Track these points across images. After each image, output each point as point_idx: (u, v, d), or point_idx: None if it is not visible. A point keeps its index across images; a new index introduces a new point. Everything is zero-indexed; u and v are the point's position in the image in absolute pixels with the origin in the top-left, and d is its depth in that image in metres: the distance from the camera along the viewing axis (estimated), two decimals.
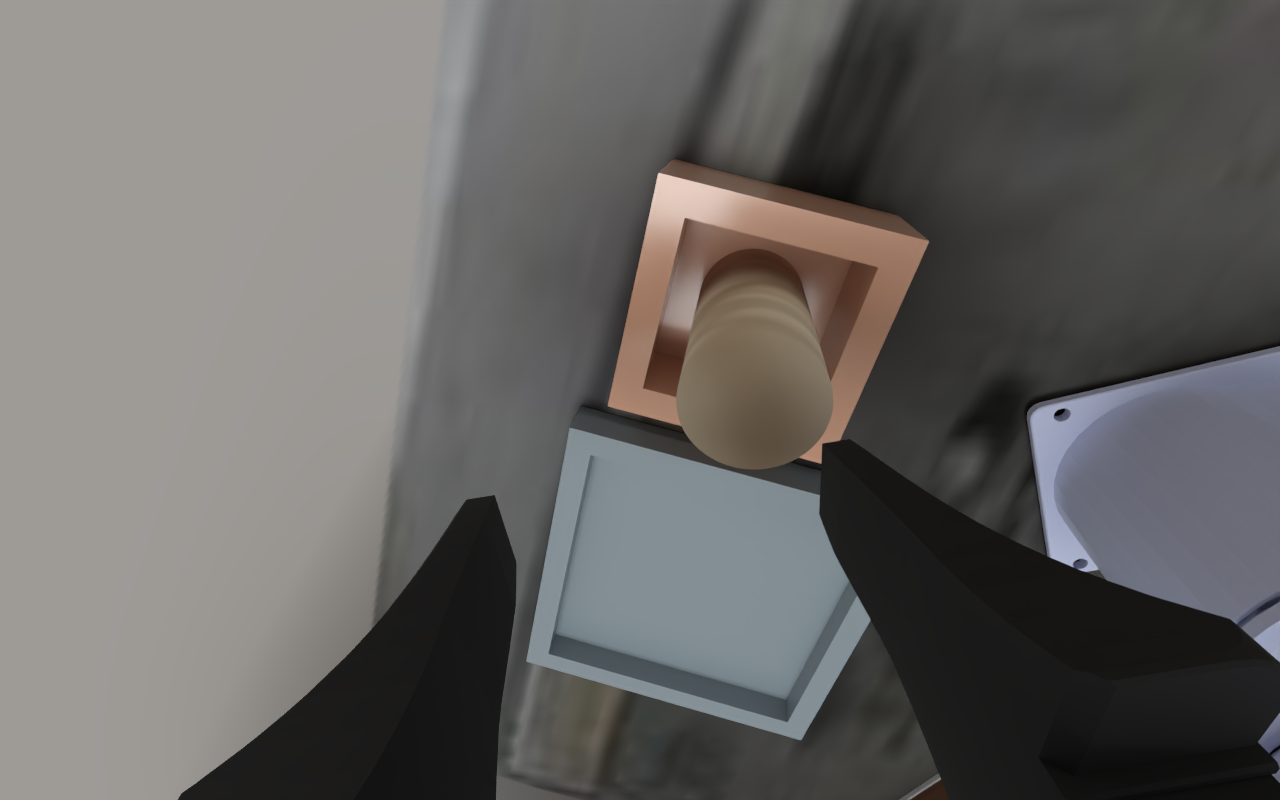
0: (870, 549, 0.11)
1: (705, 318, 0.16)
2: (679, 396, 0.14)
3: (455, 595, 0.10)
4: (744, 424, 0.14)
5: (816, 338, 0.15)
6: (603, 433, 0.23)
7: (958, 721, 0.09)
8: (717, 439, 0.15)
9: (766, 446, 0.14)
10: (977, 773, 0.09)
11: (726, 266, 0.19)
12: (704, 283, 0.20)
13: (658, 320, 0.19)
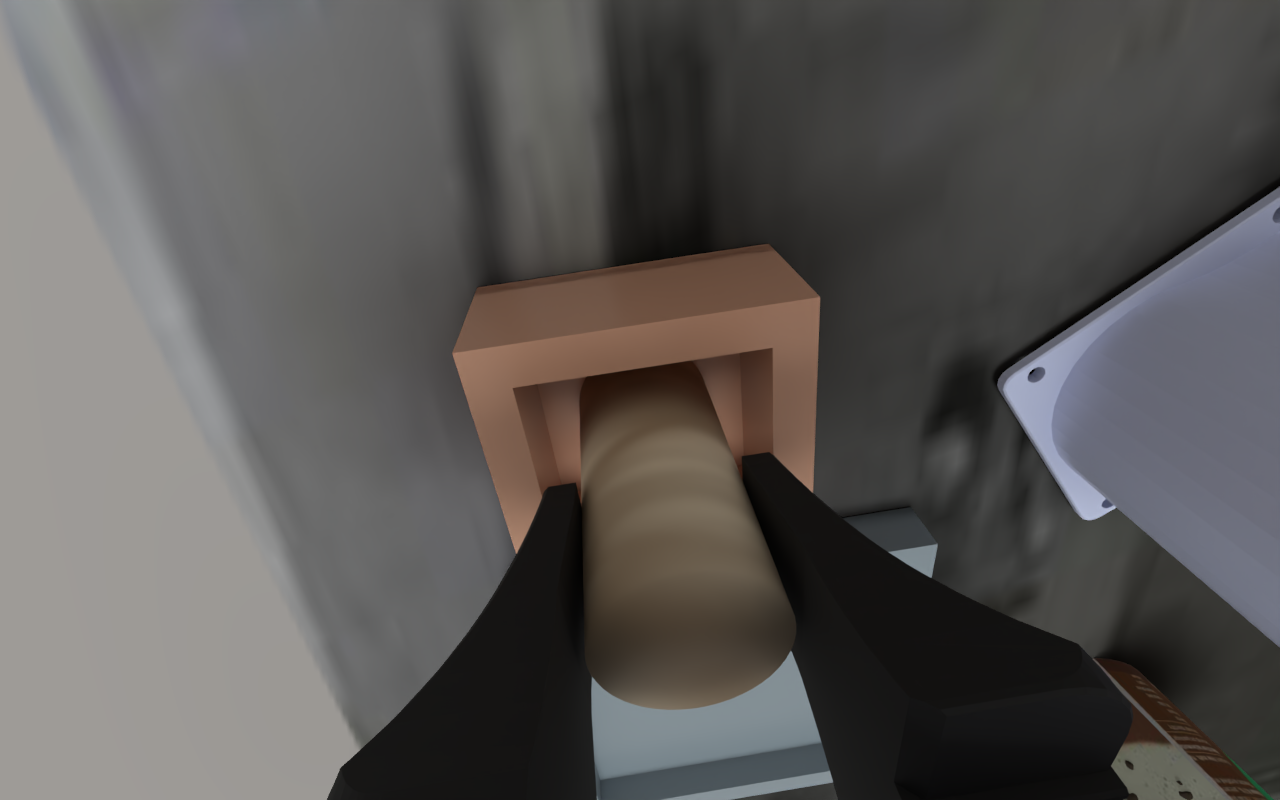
0: (779, 564, 0.11)
1: (589, 525, 0.12)
2: (594, 673, 0.10)
3: (560, 578, 0.10)
4: (692, 667, 0.10)
5: (735, 498, 0.11)
6: None
7: (844, 740, 0.09)
8: (667, 691, 0.11)
9: (731, 675, 0.11)
10: (858, 793, 0.09)
11: (595, 396, 0.15)
12: (580, 417, 0.16)
13: None
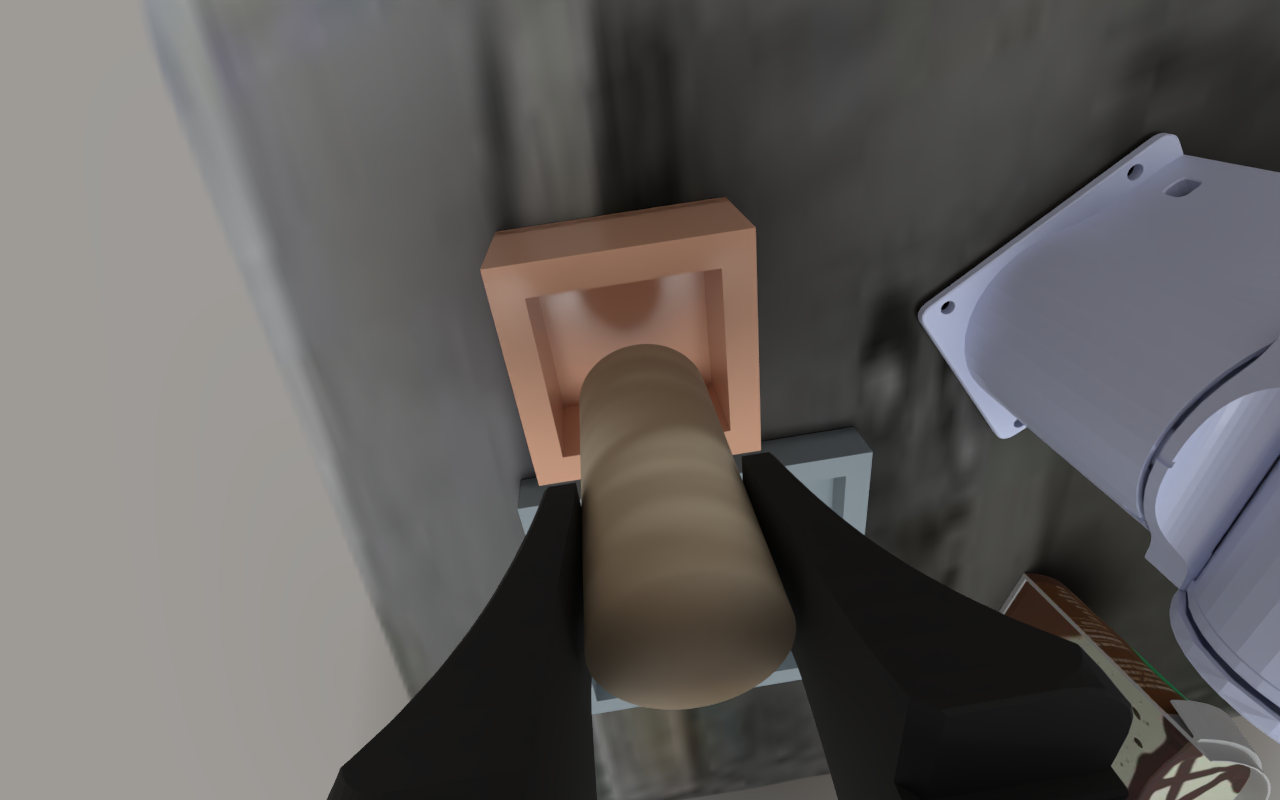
0: (778, 564, 0.11)
1: (588, 524, 0.12)
2: (594, 672, 0.10)
3: (560, 578, 0.10)
4: (691, 666, 0.10)
5: (735, 498, 0.11)
6: None
7: (844, 740, 0.09)
8: (666, 690, 0.11)
9: (730, 675, 0.11)
10: (858, 793, 0.09)
11: (595, 396, 0.15)
12: (580, 416, 0.16)
13: (547, 394, 0.19)
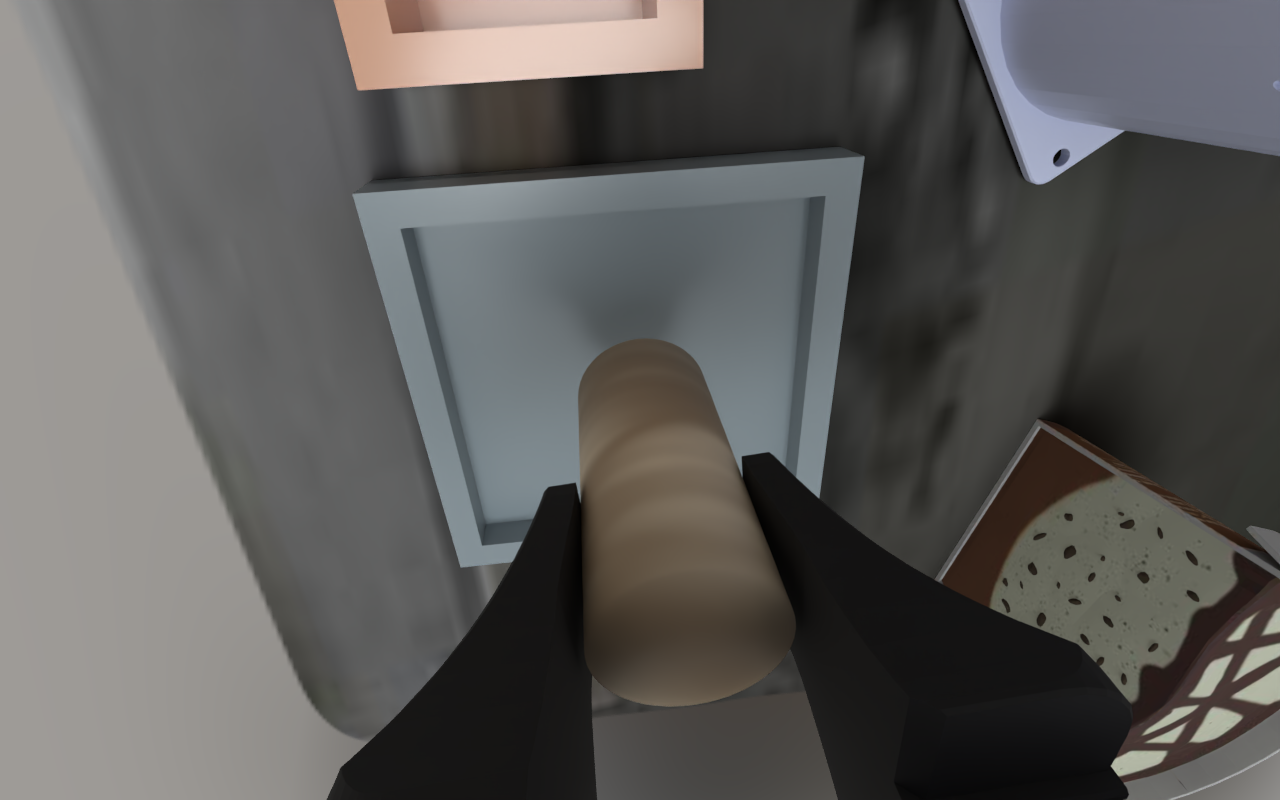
0: (778, 564, 0.11)
1: (587, 523, 0.12)
2: (594, 671, 0.10)
3: (560, 578, 0.10)
4: (692, 664, 0.10)
5: (734, 495, 0.11)
6: (404, 188, 0.16)
7: (844, 740, 0.09)
8: (667, 688, 0.11)
9: (731, 672, 0.11)
10: (858, 793, 0.09)
11: (593, 392, 0.15)
12: (578, 413, 0.16)
13: None
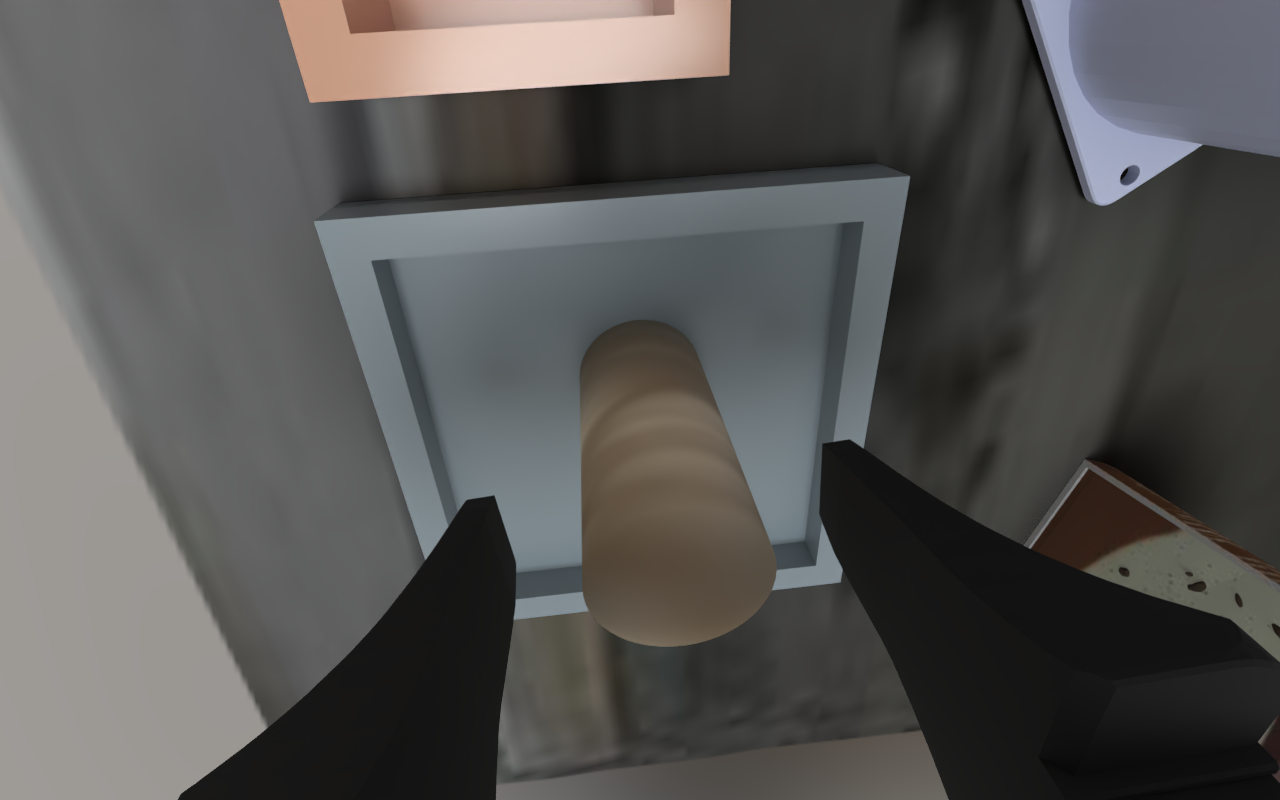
0: (870, 549, 0.11)
1: (586, 478, 0.13)
2: (592, 608, 0.11)
3: (455, 595, 0.10)
4: (681, 603, 0.11)
5: (721, 451, 0.12)
6: (375, 214, 0.14)
7: (958, 721, 0.09)
8: (659, 627, 0.12)
9: (718, 612, 0.12)
10: (977, 772, 0.09)
11: (593, 368, 0.16)
12: (580, 389, 0.17)
13: None
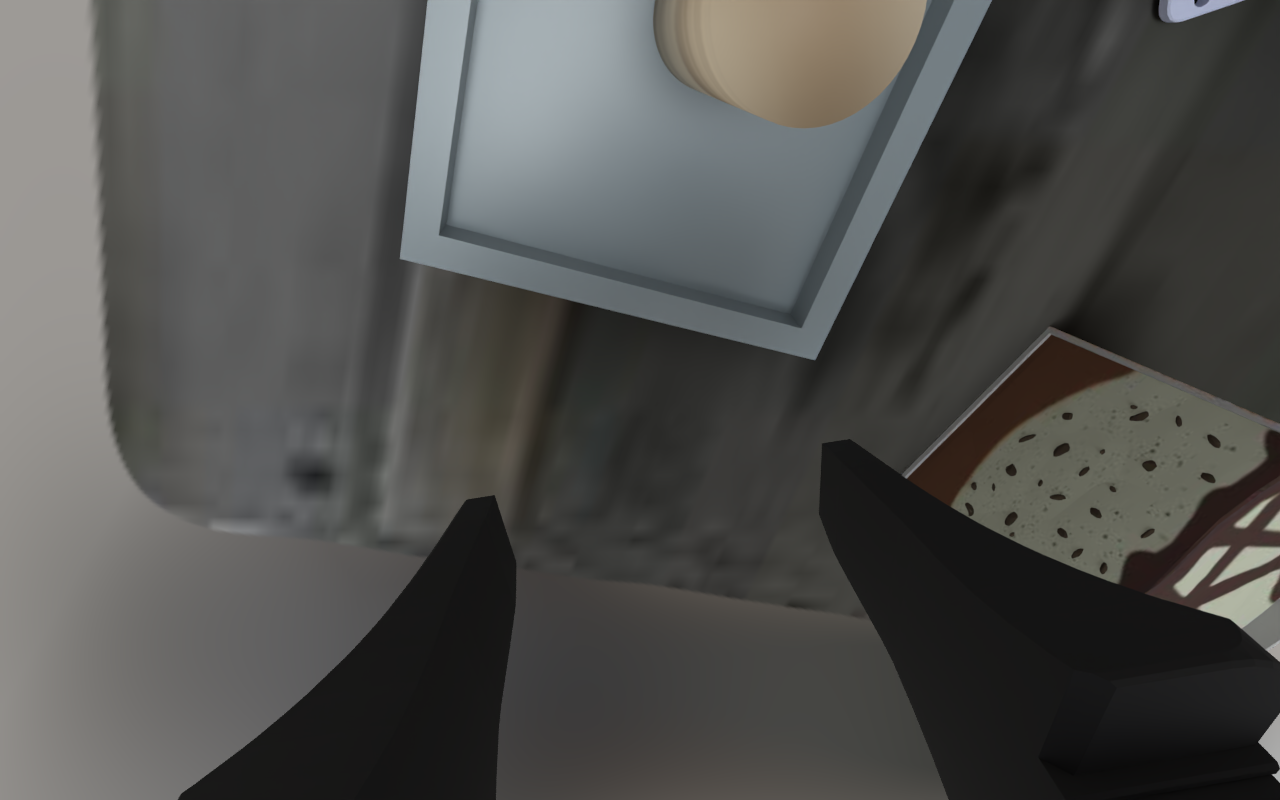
0: (870, 549, 0.11)
1: None
2: (716, 3, 0.10)
3: (455, 595, 0.10)
4: (806, 48, 0.10)
5: None
6: None
7: (958, 721, 0.09)
8: (768, 79, 0.10)
9: (834, 84, 0.10)
10: (977, 772, 0.09)
11: None
12: None
13: None
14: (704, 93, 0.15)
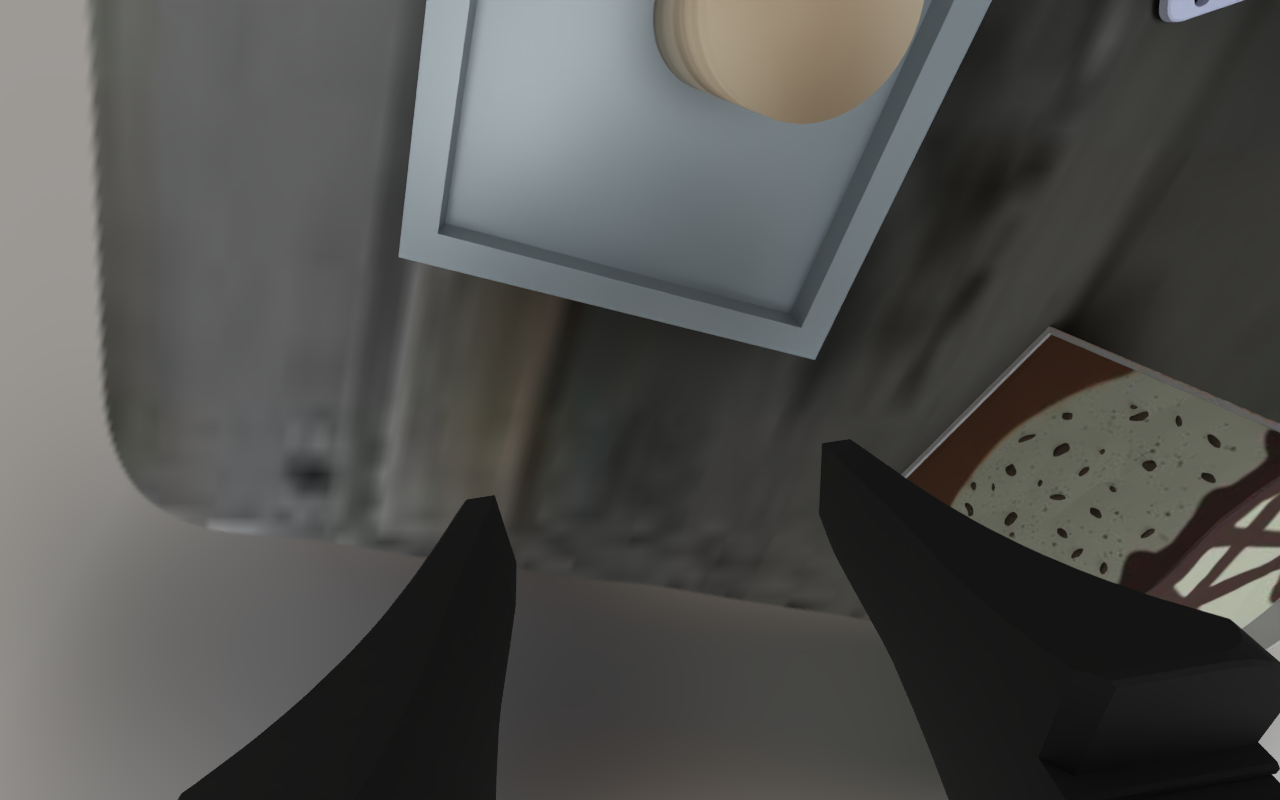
0: (870, 549, 0.11)
1: None
2: None
3: (455, 595, 0.10)
4: (804, 42, 0.10)
5: None
6: None
7: (958, 721, 0.09)
8: (765, 74, 0.10)
9: (831, 79, 0.10)
10: (977, 772, 0.09)
11: None
12: None
13: None
14: (703, 91, 0.15)
